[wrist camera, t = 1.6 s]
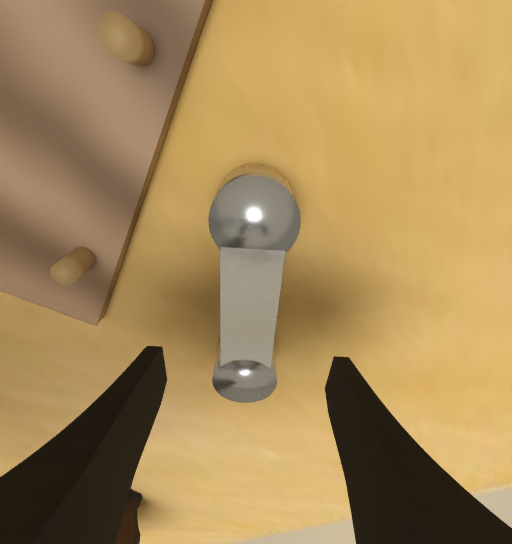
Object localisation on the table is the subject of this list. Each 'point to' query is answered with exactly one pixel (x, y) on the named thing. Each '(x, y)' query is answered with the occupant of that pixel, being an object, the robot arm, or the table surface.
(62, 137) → the board
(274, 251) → the silver ball-ended bar
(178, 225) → the table surface
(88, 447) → the robot arm
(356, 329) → the table surface
